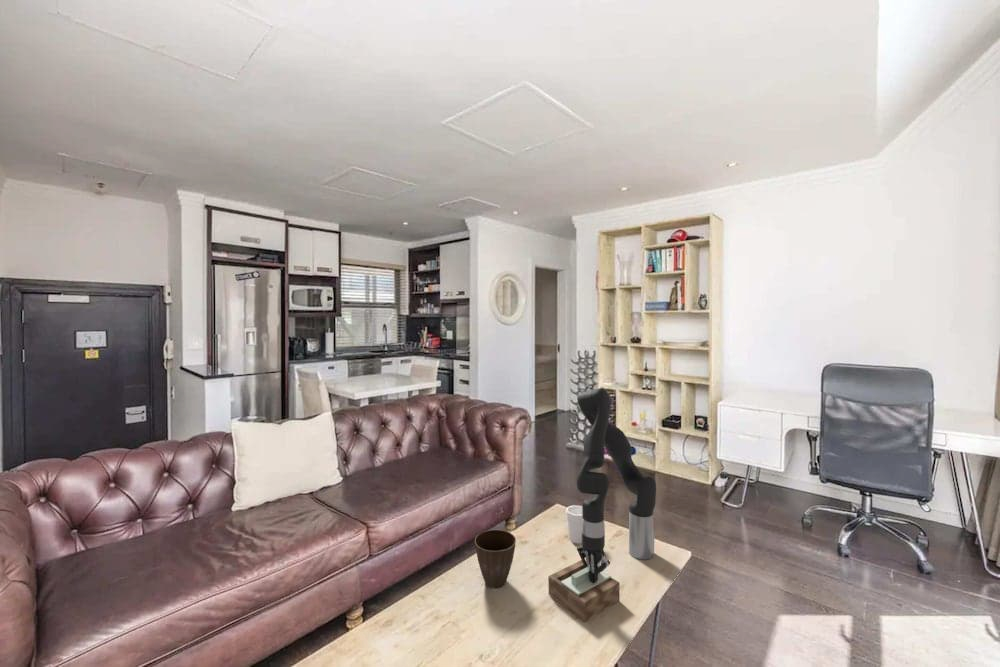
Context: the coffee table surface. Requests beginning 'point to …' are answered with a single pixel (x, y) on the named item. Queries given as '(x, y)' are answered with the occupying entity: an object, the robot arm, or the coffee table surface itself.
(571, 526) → the foam cup
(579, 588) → the slide cover
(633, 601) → the coffee table surface
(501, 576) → the plant pot
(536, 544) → the coffee table surface
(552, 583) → the brown square open box
